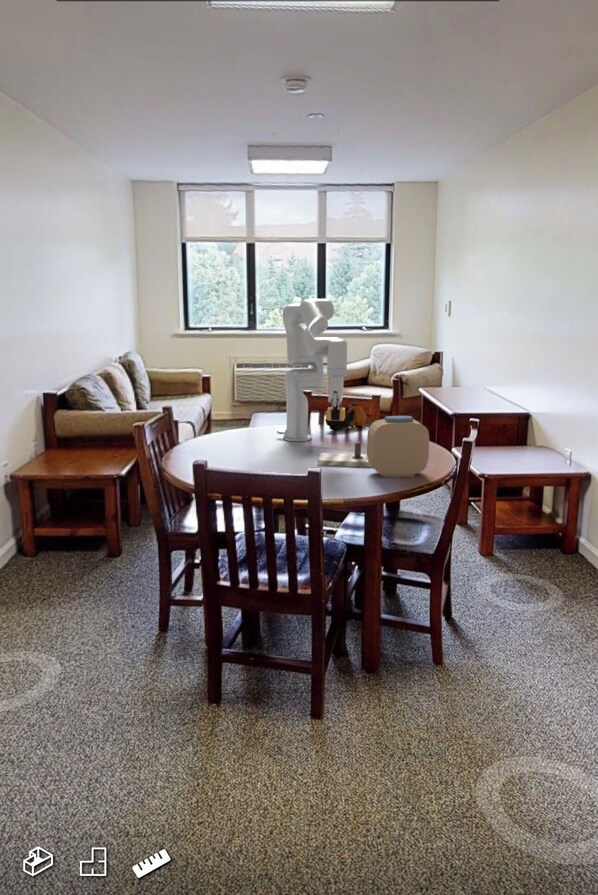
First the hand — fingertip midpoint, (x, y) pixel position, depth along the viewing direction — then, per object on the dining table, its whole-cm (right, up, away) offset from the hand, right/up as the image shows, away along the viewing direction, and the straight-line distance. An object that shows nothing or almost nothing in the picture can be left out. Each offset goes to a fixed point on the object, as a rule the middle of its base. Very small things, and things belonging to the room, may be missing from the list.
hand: (336, 417), depth 266 cm
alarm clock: (+22, -22, -13) cm, 33 cm away
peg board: (+5, -17, +4) cm, 18 cm away
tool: (+8, -3, +66) cm, 66 cm away
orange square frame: (0, 0, 0) cm, 0 cm away
